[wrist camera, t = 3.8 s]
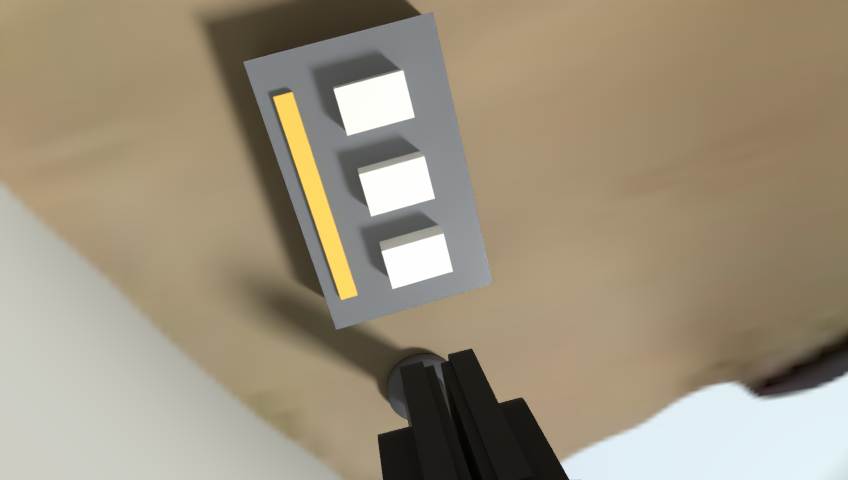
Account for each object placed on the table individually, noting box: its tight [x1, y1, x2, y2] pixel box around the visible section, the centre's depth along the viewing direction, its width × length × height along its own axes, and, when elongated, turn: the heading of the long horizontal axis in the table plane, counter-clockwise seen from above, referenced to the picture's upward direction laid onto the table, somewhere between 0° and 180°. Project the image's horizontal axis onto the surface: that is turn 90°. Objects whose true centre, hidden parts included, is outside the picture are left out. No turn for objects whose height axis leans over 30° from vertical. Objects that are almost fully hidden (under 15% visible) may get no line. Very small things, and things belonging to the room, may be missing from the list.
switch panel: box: [243, 12, 493, 330], centre depth 32 cm, size 16×10×6 cm, turn 14°
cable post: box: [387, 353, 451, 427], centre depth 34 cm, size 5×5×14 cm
